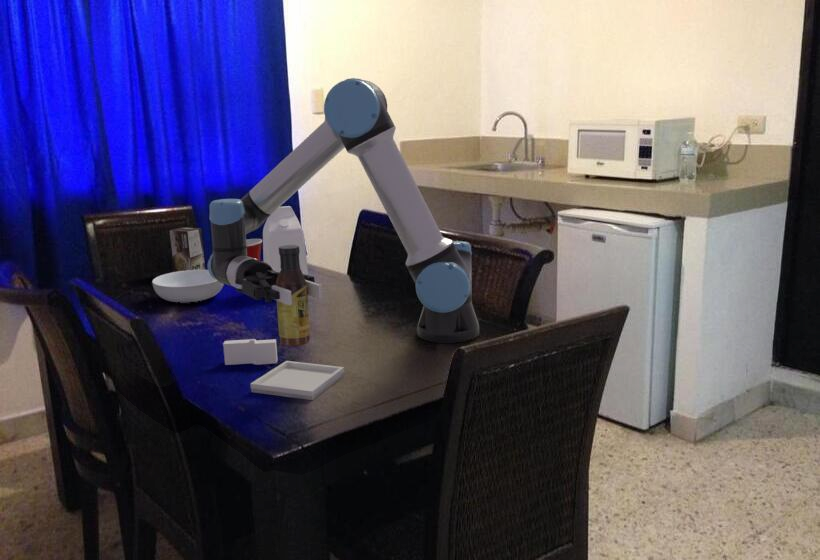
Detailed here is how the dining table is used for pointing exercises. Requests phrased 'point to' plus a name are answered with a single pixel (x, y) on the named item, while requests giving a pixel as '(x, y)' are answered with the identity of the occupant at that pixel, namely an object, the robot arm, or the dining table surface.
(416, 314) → the dining table surface
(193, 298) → the serving bowl
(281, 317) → the sauce bottle
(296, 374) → the tray
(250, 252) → the plastic cup
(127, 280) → the dining table surface
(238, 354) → the white stepped block
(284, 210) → the milk
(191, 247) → the coffee box
